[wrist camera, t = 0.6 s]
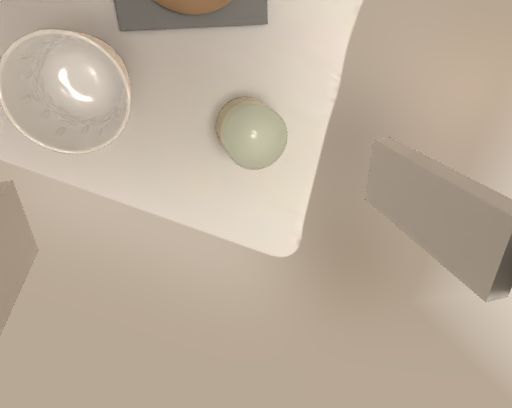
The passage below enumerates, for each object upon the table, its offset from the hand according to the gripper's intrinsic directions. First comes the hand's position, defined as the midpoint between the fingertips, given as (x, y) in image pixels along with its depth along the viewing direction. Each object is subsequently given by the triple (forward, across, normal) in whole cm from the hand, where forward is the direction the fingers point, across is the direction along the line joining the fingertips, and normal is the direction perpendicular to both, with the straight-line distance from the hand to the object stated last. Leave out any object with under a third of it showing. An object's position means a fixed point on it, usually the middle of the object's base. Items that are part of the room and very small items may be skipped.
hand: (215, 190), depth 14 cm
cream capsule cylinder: (+24, +7, -5) cm, 26 cm away
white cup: (+24, -7, +1) cm, 26 cm away
